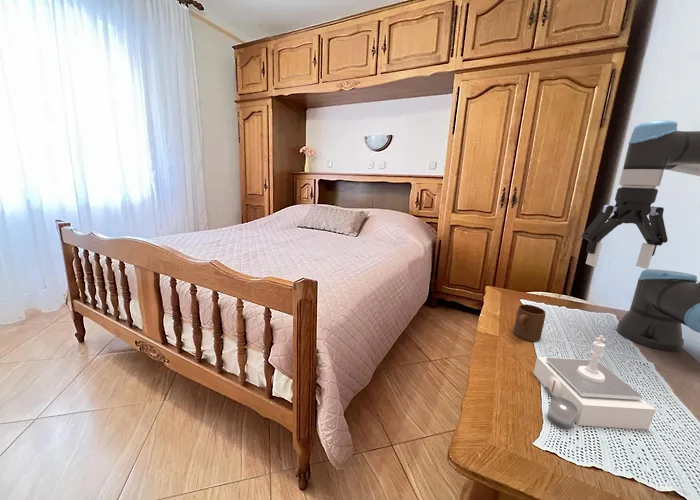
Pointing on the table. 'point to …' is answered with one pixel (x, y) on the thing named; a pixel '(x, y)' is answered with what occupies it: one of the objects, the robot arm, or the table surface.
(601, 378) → the chess piece
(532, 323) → the mug
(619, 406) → the scale
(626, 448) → the table surface
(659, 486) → the table surface
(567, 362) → the textured square plate
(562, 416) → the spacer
